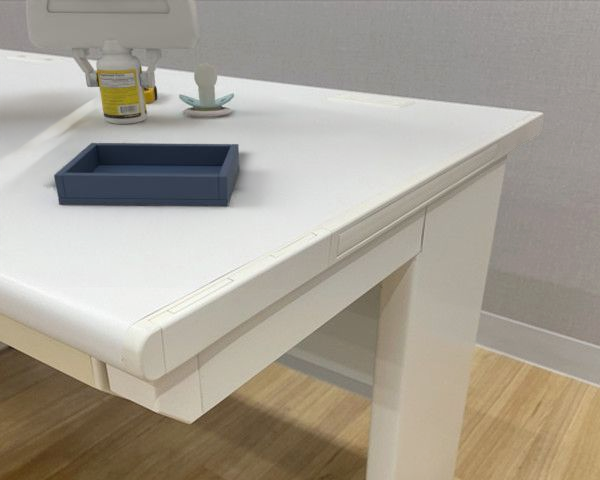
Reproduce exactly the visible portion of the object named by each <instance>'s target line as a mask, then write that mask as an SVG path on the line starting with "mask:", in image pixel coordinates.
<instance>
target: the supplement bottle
mask: <svg viewBox="0 0 600 480" xmlns="http://www.w3.org/2000/svg"><path fill="white" fill-rule="evenodd" d="M98 49H99V52H100V53H102V56H100V57H99V58H98V59H97V60H96V62H95V63H96V64H95V65H96V70H97V74H98V80H99V87H98V88H99V92H100V99H101V105H102V111H103V117H104V120H105V121H106V123H110V124H117V125H118V124H119V125H122V124H123V125H125V124H126V125H129V124H136V123H140V122H143V121H145V120H146V119H147V118H148V110H147V104H146V101H145V93H144V87H141V83H140V82H141V79H140V72H142V71H143V68H142V63H141V62H142V61H141V60H140V58H139V57H138V56H137V55H133V51H134V49H124V48H122V47H121V46H120V45H119V43H118V41H117V40H105V43H104V47H103V48H98Z"/></svg>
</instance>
